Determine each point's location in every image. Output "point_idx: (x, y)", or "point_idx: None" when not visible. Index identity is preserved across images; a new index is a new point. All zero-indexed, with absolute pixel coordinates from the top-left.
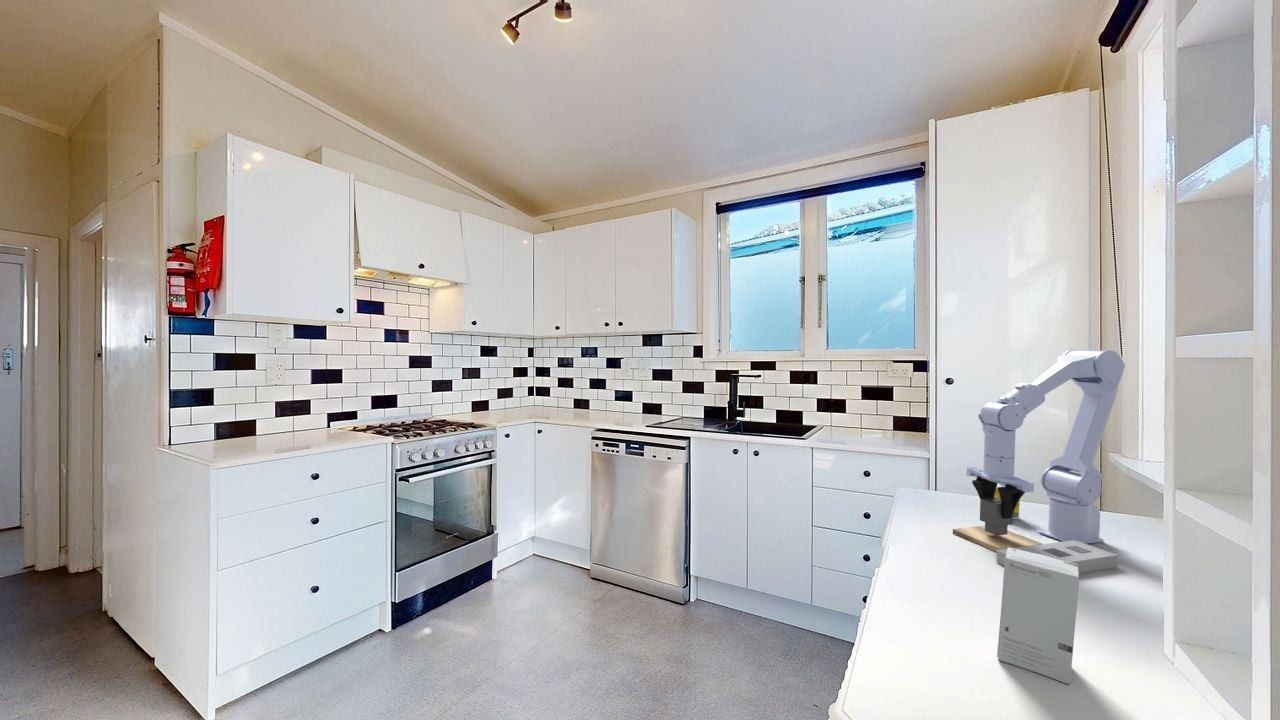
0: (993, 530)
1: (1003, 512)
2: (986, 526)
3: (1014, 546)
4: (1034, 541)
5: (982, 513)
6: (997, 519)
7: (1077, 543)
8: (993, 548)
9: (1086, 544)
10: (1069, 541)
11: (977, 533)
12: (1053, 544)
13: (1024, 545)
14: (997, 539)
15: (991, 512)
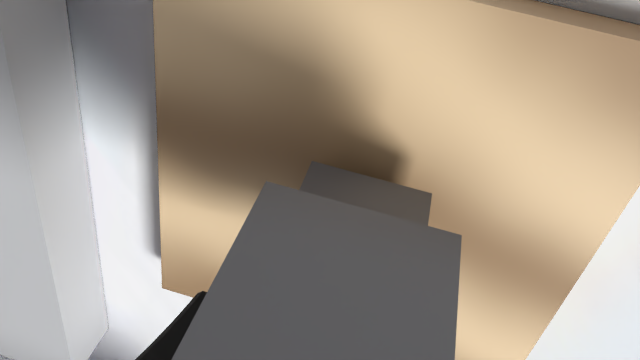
0: (341, 192)
1: (170, 339)
2: (411, 219)
3: (170, 99)
4: (200, 289)
5: (422, 294)
6: (237, 241)
7: (31, 344)
8: None
9: (16, 357)
10: (59, 345)
11: (483, 147)
12: (26, 243)
13: (167, 178)
14: (316, 143)
15: (286, 300)
